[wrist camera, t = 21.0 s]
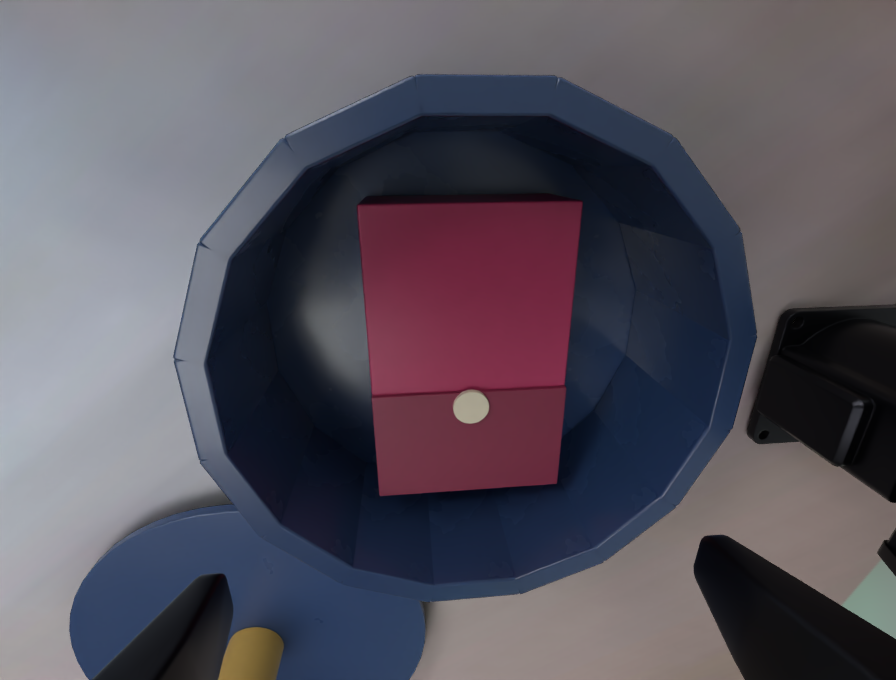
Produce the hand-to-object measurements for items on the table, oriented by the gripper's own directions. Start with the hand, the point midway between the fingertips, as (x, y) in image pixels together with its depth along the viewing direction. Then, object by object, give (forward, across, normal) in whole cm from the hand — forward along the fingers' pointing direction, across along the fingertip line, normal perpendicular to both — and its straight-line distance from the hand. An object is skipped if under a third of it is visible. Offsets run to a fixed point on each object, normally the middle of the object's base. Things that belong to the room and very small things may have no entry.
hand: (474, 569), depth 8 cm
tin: (+11, -1, -1) cm, 11 cm away
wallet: (+10, -1, -1) cm, 10 cm away
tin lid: (+10, +9, +15) cm, 20 cm away
